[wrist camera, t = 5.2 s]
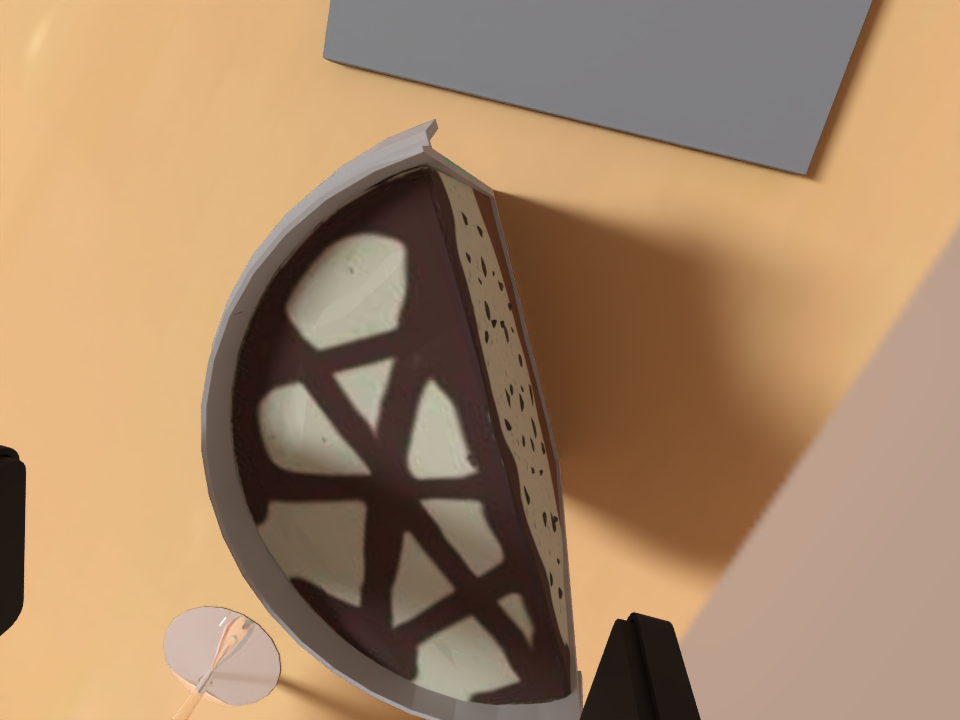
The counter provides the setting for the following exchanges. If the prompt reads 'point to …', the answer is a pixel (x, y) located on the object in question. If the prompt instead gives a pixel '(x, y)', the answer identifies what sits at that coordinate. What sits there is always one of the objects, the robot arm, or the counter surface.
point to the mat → (626, 63)
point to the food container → (396, 445)
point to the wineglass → (220, 658)
